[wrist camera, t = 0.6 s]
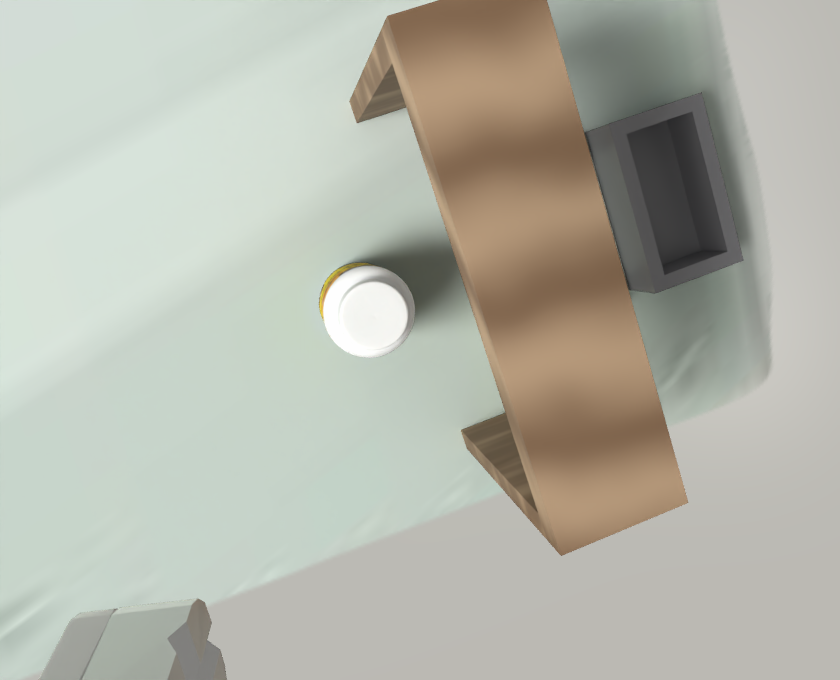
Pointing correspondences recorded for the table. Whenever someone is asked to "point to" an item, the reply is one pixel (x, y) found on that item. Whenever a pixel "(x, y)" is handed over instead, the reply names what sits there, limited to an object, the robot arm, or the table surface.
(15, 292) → the table surface
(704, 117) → the box
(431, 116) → the tunnel
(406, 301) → the supplement bottle
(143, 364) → the table surface
